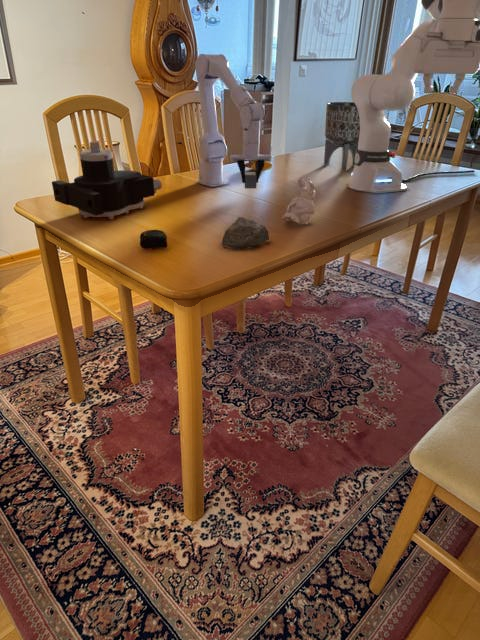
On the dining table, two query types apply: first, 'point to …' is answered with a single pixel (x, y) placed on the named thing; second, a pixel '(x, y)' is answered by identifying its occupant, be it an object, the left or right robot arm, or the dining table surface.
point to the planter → (341, 131)
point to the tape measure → (153, 239)
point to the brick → (250, 180)
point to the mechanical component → (104, 186)
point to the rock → (245, 234)
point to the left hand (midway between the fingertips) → (249, 182)
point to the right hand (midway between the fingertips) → (440, 93)
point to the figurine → (301, 204)
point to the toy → (253, 166)
